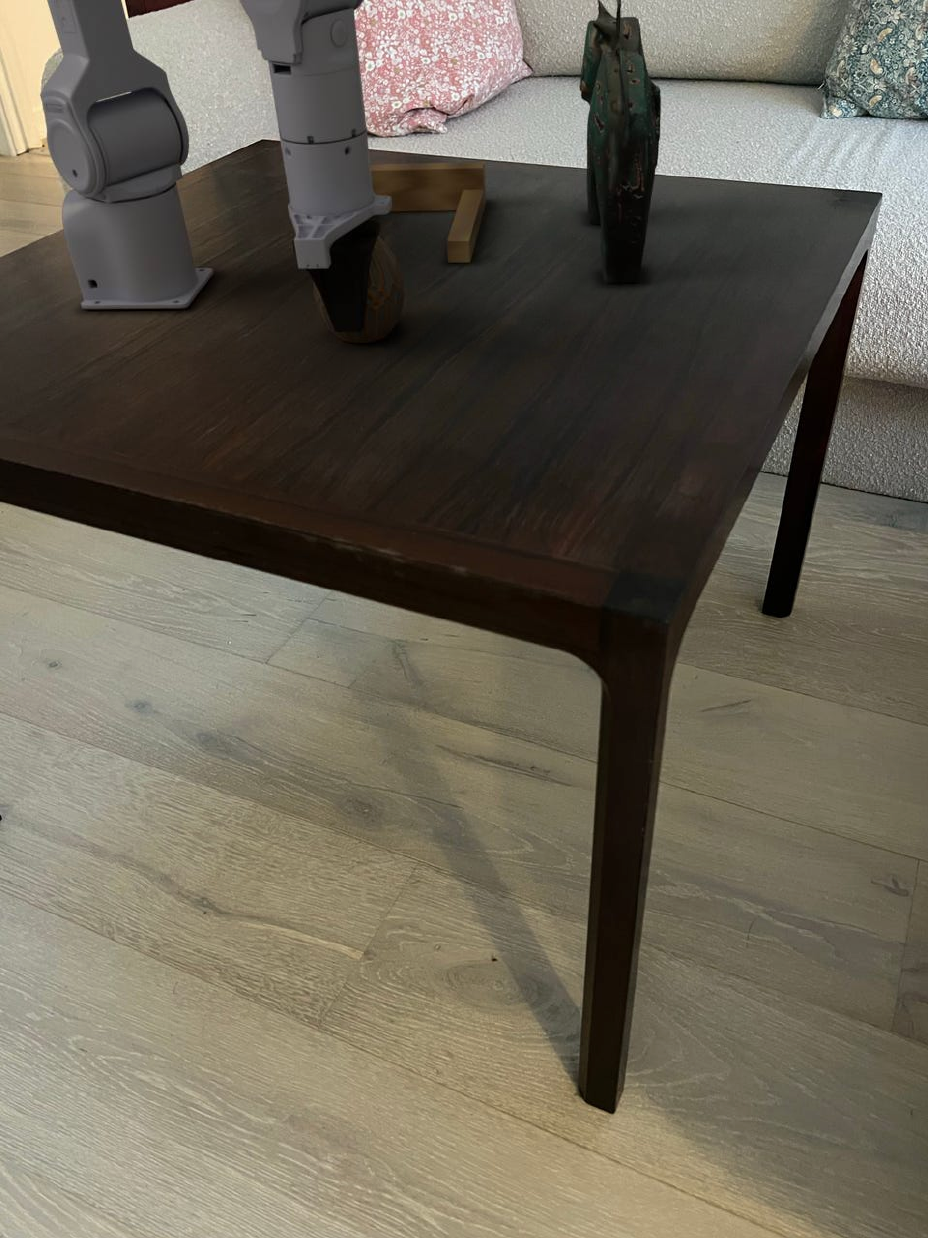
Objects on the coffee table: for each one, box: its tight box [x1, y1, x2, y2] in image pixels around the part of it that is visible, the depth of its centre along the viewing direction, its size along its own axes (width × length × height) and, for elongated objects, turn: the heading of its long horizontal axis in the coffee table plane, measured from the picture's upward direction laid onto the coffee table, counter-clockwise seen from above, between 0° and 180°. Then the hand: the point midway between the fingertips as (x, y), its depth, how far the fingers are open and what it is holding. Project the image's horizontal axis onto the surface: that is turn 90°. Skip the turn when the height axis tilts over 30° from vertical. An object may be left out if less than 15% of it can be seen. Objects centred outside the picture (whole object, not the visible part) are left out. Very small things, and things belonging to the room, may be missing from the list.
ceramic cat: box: [579, 0, 662, 284], centre depth 86 cm, size 20×6×20 cm, turn 178°
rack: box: [370, 161, 487, 264], centre depth 96 cm, size 14×16×4 cm
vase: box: [312, 235, 405, 344], centre depth 78 cm, size 7×7×9 cm
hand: (349, 328), depth 75 cm, fingers closed
